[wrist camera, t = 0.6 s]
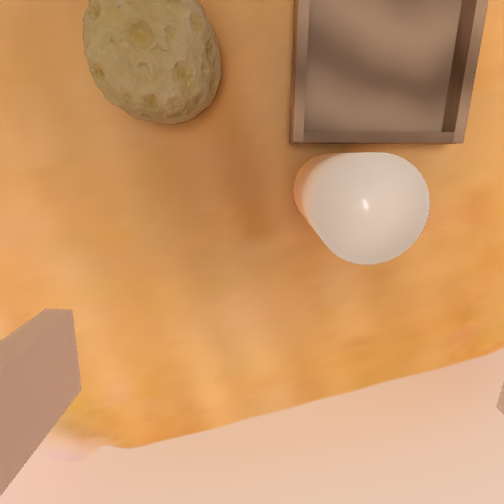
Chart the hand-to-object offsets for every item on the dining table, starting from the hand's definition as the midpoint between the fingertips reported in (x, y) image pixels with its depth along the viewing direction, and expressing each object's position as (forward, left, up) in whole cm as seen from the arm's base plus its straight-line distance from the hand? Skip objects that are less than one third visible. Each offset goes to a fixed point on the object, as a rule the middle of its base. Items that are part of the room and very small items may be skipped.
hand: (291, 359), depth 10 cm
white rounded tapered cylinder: (-3, +5, -22) cm, 23 cm away
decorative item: (-13, -9, -22) cm, 27 cm away
